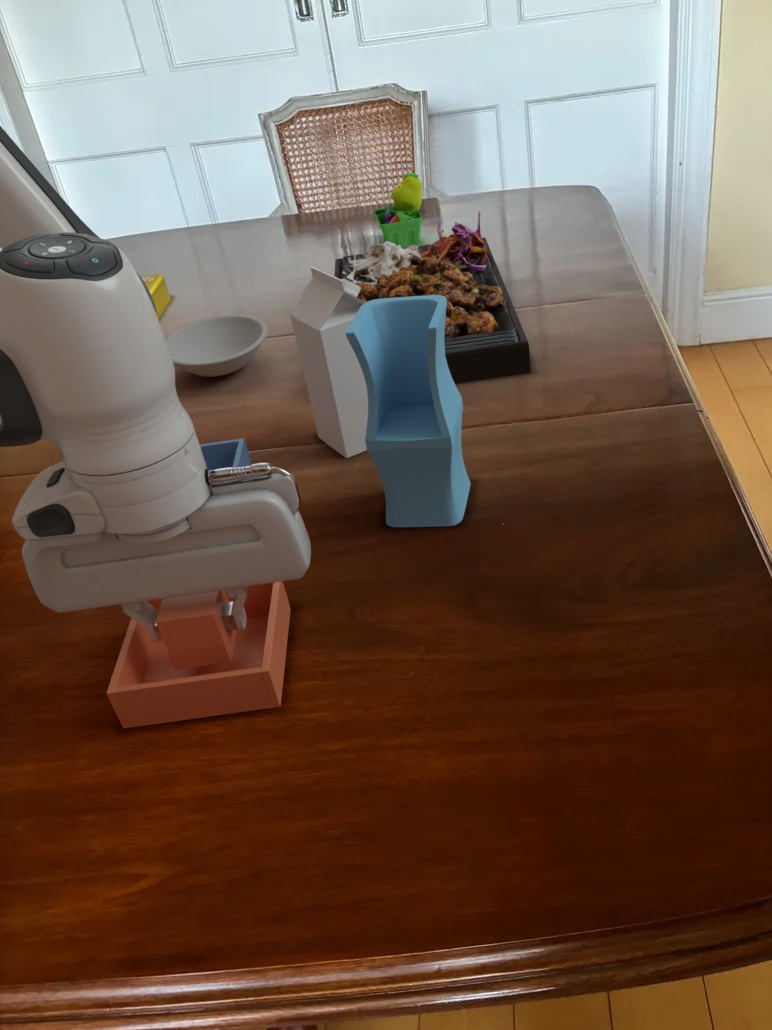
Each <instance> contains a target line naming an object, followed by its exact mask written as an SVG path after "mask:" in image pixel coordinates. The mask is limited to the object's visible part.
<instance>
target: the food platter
mask: <svg viewBox="0 0 772 1030" xmlns="http://www.w3.org/2000/svg"><path fill="white" fill-rule="evenodd" d="M477 214H478V218H477V220H478V221H477V227H476V230H474V231H473V230H472V229H471V228H470V227H468V226H467V225H465V224H464V223H462V222H461V223H460V222H457V221H456V222H455V221H454V225H453V226H452V228H451V231H452V233H451V234H449V235H448V236H446V235H445V236H444V235H443V233H444V229H442V227H441V221H440V220H437V227H436V228H437V229H436V230H437V231H436V233H437V235H438V238H439V239H437V240H436V241H434V242H432V243H430V244H422V245H416V246H415V244H413V245H412V246H409V247H405V248H401V246H400V245H397V246H395V243H394V244H393V243H390V242H389V241H384V242H383V243H376V244H373V245H372V244H370V246H369V252H365V253H358V254H356V253H354V254H350V255H345V256H342V258H336V259H335V261H334V275H333V276H334V277H336V278H339V279H345V280H347V281H349V282H351V283H353V284H355V285H357V286H359V287H360V288H361V289H360V292H359V293H358V296H357V297H356V298H358V299H360V300H362V301H363V302H368V301H370V300H374V299H383V298H397V297H411V296H427V295H442V296H445V297H446V298H447V306H446V316H445V331H444V345H445V356H446V361H447V365H448V368H449V371H450V374H451V376H452V379H453V381H454V383H455V385H456V384H464V383H470V382H477V381H484V380H491V379H498V378H505V377H512V376H521V375H526V374H531V373H532V370H531V369H532V368H531V355H530V344H529V341H528V338H527V337H526V334H525V332H524V328H523V326H522V323H521V322H520V319H519V316H518V314H517V312H516V310H515V306H514V304H513V302H512V300H511V298H510V295H509V292H508V289H507V287H506V284H505V283H504V280H503V278H502V275H501V272H500V270H499V268H498V265H497V263H496V261H495V260H496V259H495V257H494V255H493V253H492V251H491V249H490V246H489V243H488V240H487V238H486V237H482V234H481V210H479V211H478V213H477Z"/></svg>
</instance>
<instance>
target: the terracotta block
mask: <svg viewBox="0 0 772 1030" xmlns="http://www.w3.org/2000/svg"><path fill="white" fill-rule="evenodd" d="M226 602H229V600H228V597H227V594H226V591H225V590H218V591H211V592H204V593H197V594H190V595H183V596H176V597H169V598H162V602H161V605H160V608H159V612H158V615H157V618H156V624H157V627H158V629H159V631H160V634H161V636H162V639H163V641H164V643H165V646H166V648H167V651H168V653H169V656H170V658H171V660H172V663H173V665H174V668H175V670H180V669H187V668H194V667H201V666H208V665H215V664H222V663H229V662H231V661H232V655H233V650H234V644H235V638H236V633H237V630H234V631H226V628H225V624H224V623H223V620H222V617H221V616H222V611H223V606H224V603H226Z"/></svg>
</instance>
